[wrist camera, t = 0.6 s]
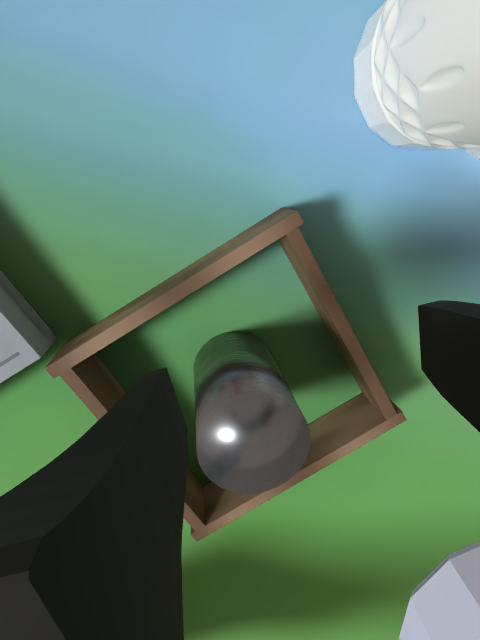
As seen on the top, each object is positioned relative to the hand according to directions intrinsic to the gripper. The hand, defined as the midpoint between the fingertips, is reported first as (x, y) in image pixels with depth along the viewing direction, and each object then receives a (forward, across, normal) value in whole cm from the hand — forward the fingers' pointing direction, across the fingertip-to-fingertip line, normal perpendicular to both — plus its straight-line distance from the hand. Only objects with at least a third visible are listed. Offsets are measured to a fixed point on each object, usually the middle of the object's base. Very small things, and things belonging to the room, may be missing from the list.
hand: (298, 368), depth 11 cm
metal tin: (+10, +2, +5) cm, 11 cm away
